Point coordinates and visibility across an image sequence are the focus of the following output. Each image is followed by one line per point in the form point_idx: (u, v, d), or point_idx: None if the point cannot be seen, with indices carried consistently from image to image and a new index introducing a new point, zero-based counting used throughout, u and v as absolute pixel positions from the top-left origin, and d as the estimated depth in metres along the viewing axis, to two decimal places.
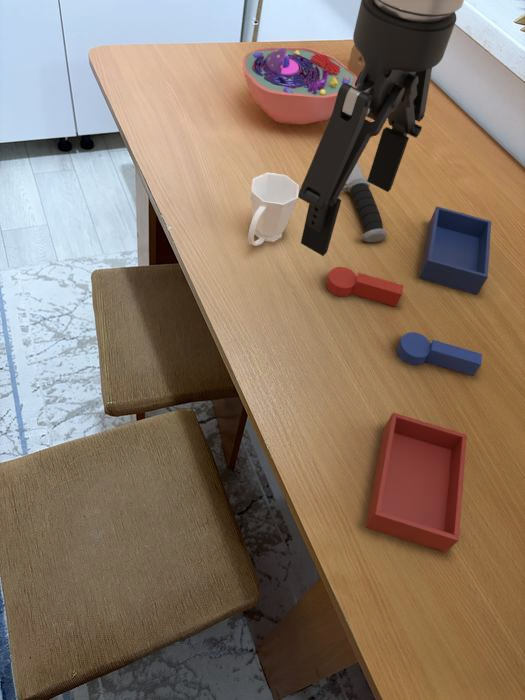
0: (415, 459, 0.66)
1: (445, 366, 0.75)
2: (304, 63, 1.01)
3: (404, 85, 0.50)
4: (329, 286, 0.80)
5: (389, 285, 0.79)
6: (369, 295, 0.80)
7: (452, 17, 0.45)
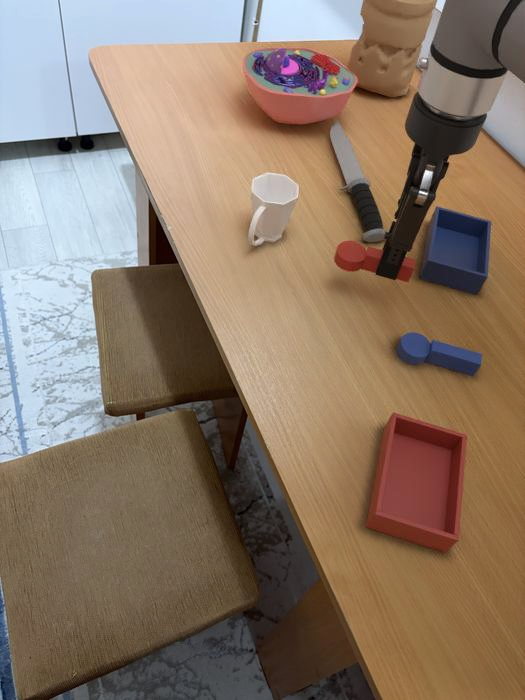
0: (415, 459, 0.66)
1: (445, 366, 0.75)
2: (304, 63, 1.01)
3: None
4: (338, 261, 0.76)
5: None
6: None
7: None
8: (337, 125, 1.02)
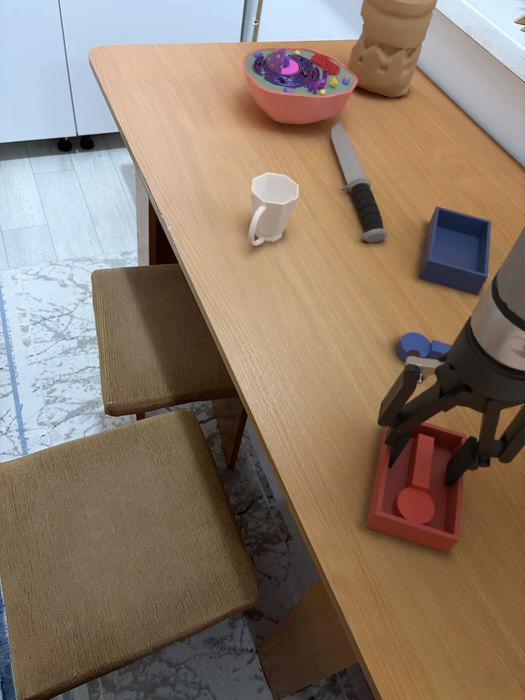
0: None
1: None
2: (304, 63, 1.01)
3: None
4: None
5: (425, 449, 0.64)
6: None
7: None
8: (338, 125, 1.02)
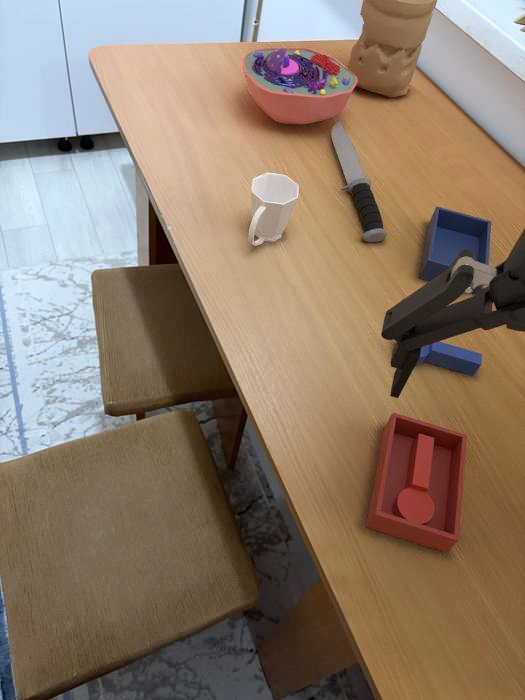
0: None
1: (445, 366, 0.75)
2: (304, 63, 1.01)
3: None
4: None
5: (425, 449, 0.64)
6: None
7: None
8: (338, 125, 1.02)
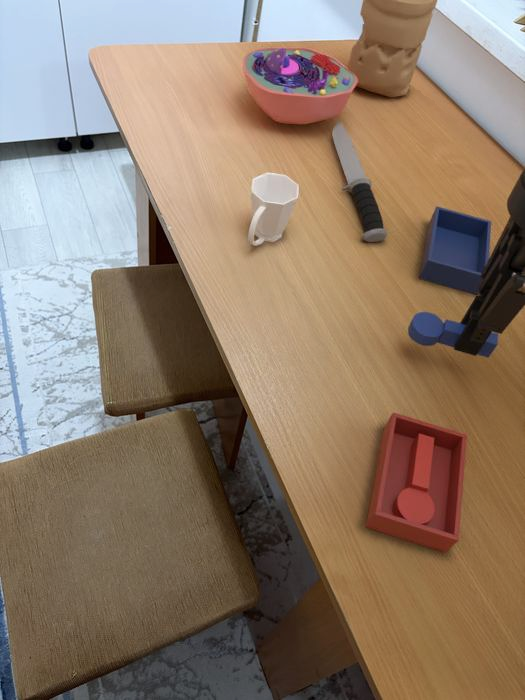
0: None
1: None
2: (304, 63, 1.01)
3: None
4: None
5: (425, 449, 0.64)
6: None
7: None
8: (340, 125, 1.02)
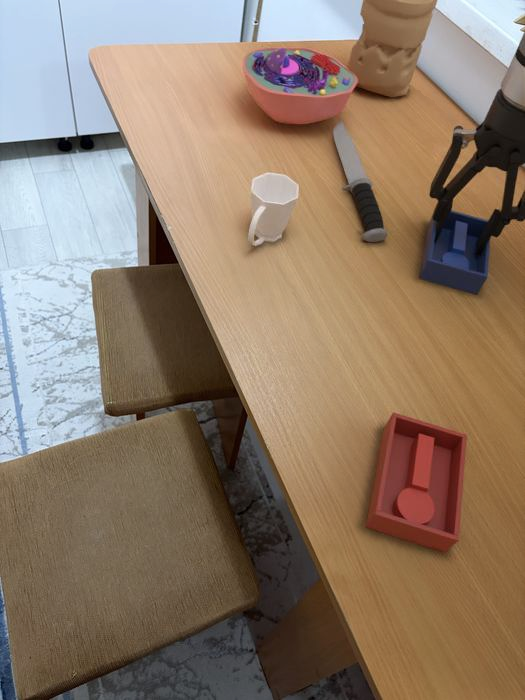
0: None
1: None
2: (304, 63, 1.01)
3: (510, 154, 0.74)
4: None
5: (425, 449, 0.64)
6: None
7: None
8: (341, 125, 1.02)
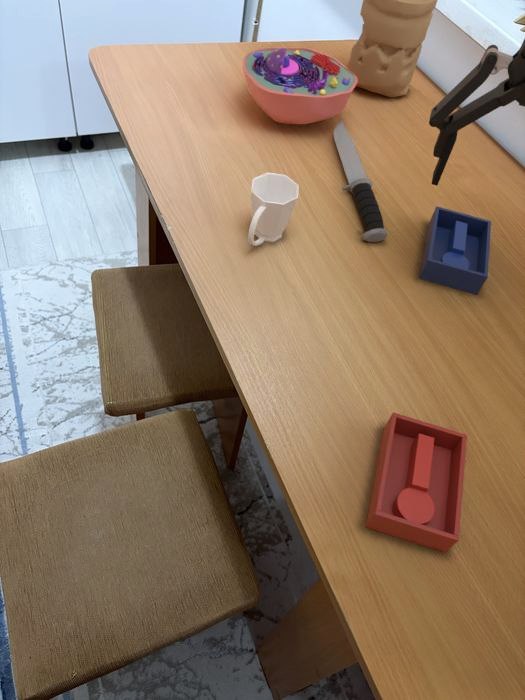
0: None
1: None
2: (304, 63, 1.01)
3: None
4: None
5: (425, 449, 0.64)
6: None
7: None
8: (341, 125, 1.02)
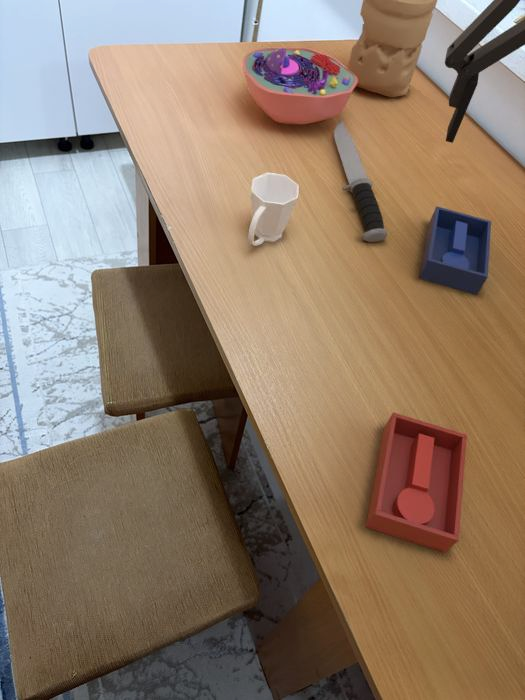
0: None
1: None
2: (304, 63, 1.01)
3: None
4: None
5: (425, 449, 0.64)
6: None
7: None
8: (341, 125, 1.02)
